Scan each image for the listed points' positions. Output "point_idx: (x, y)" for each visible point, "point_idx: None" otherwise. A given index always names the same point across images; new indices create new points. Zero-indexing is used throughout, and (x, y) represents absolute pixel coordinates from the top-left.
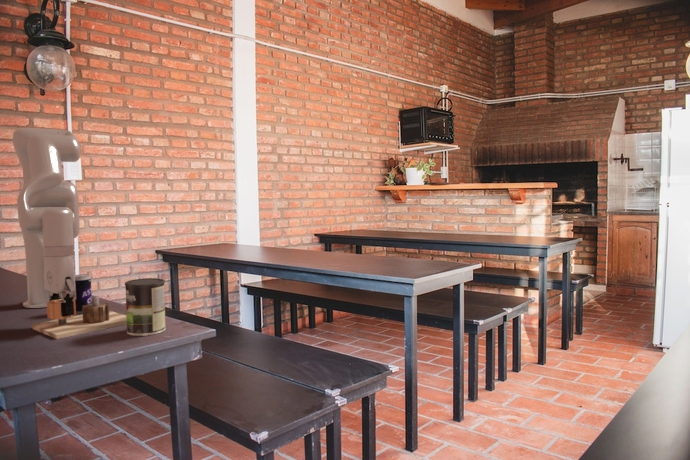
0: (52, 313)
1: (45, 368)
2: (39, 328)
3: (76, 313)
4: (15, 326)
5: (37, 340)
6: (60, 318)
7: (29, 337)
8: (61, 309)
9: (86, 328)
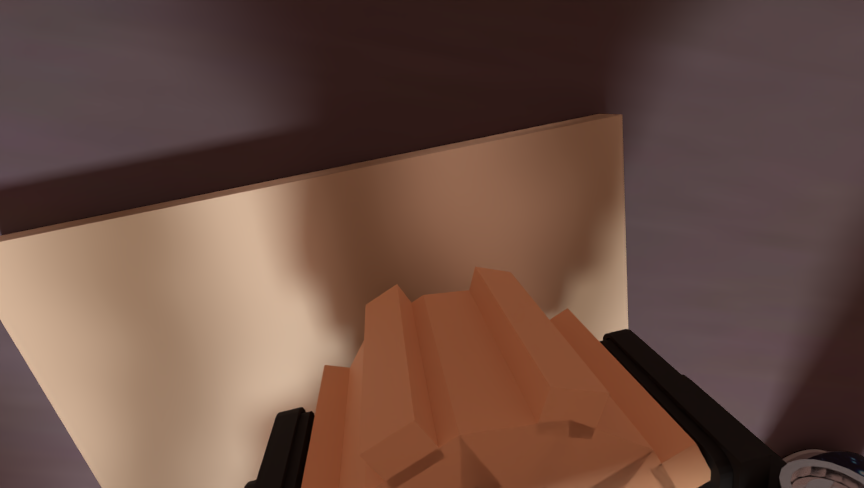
0: (365, 343)
1: None
2: (412, 156)
3: (792, 454)
4: (798, 3)
5: (53, 73)
6: (323, 375)
7: (243, 29)
8: (267, 479)
9: (102, 485)
